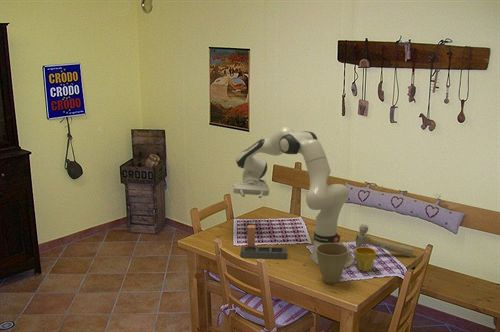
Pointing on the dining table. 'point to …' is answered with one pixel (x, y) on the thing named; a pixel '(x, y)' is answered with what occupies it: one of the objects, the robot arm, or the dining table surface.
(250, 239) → the peg
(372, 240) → the hammer
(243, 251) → the grey slotted tray
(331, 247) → the plant pot
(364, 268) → the plant pot
